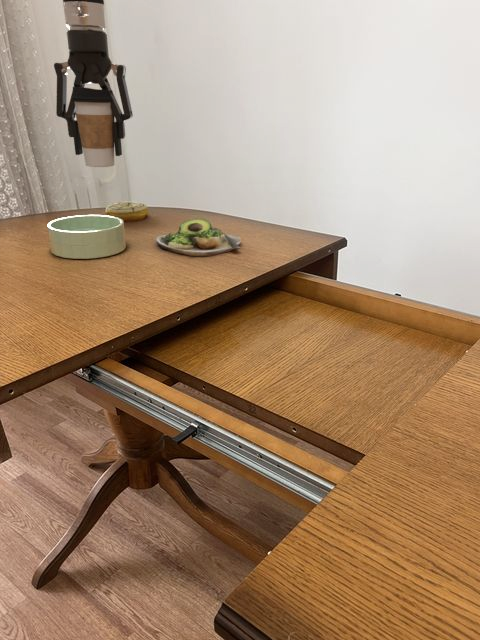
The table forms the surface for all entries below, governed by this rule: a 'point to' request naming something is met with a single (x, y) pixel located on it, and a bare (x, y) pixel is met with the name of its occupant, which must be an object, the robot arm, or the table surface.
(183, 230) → the salad plate
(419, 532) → the table surface
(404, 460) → the table surface
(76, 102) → the coffee cup
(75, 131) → the robot arm
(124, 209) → the decorated donut
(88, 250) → the bowl
